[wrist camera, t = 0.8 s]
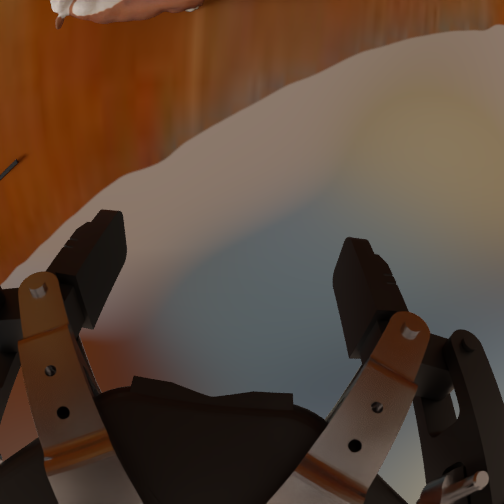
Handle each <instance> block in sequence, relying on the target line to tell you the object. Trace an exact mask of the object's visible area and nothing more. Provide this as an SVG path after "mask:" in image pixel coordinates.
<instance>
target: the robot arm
mask: <svg viewBox="0 0 504 504" xmlns="http://www.w3.org/2000/svg"><path fill="white" fill-rule="evenodd" d="M126 253H127V245H126V237H125V229H124V220H123V214H122V212H121V211H112V210H100V211H99V213H98V214H97V215H96V216H95V218H94V219H93V220H92V222H87V223H85V224H84V225H82V226H81V227H79V228H78V229H76V231H75V232H74V233H73V235H72V236H71V237H70V240H68V241H67V242H66V244H65V245H64V247H63V248H62V249H61V251H60V252H59V253H58V255H57V256H56V257H55V259H54V260H53V262H52V263H51V265H50V266H49V267H48V269H47V270H46V272H37V273H34V274H32V275H30V276H29V277H28V278H26V279H25V280H24V281H23V282H22V283H21V285H20V287H19V288H12V289H2V288H1V286H0V423H1V420H2V416H3V413H4V410H5V407H6V404H7V401H8V398H9V395H10V393H11V390H12V387H13V384H14V382H15V379H16V376H17V374H18V371H19V369H20V366H21V367H22V373H23V378H24V383H25V388H26V392H27V397H28V400H29V405H30V408H31V413H32V416H33V419H34V423H35V427H36V430H37V433H38V438H37V439H35V440H34V441H32V442H31V443H29V444H28V445H27V446H25V447H24V448H22V449H21V450H20V451H18V452H17V453H15V454H14V455H12V456H11V457H9V458H8V459H7V460H5V461H4V462H2V456H1V454H0V504H408V503H407V502H406V501H405V500H404V499H403V498H402V497H401V496H400V495H399V494H397V493H396V492H395V491H394V490H393V489H392V488H391V487H390V486H389V485H388V484H387V483H386V482H385V481H384V480H383V479H382V478H381V477H380V476H379V475H378V474H377V473H378V471H379V469H380V467H381V466H382V464H383V462H384V460H385V458H386V456H387V454H388V452H389V450H390V449H391V446H392V444H393V442H394V440H395V439H396V436H397V434H398V432H399V430H400V428H401V426H402V424H403V422H404V419H405V417H406V415H407V413H408V410H409V408H410V406H411V403H412V401H413V405H414V410H415V415H416V420H417V426H418V431H419V437H420V443H421V449H422V455H423V462H424V469H425V478H426V486H425V487H424V488H423V490H422V492H421V495H420V499H418V501H417V502H416V504H504V403H503V401H502V397H501V394H500V391H499V388H498V385H497V383H496V380H495V378H494V374H493V372H492V369H491V367H490V364H489V361H488V359H487V357H486V354H485V352H484V349H483V347H482V345H481V343H480V341H479V340H478V339H477V338H476V337H475V335H473V334H472V333H470V332H469V331H466V330H456V331H455V332H454V333H453V334H452V335H451V336H450V338H449V339H447V338H443V337H440V336H437V335H434V334H431V333H430V331H429V328H428V326H427V324H426V323H425V322H424V321H423V320H422V319H421V318H420V317H419V316H417V315H415V314H413V313H410V312H409V311H408V309H407V306H406V304H405V302H404V299H403V297H402V295H401V293H400V290H399V288H398V286H397V285H396V281H395V279H394V277H393V276H392V272H391V270H390V268H389V266H388V264H387V263H386V262H385V261H384V260H383V259H382V258H381V257H380V256H379V255H376V254H374V252H373V250H372V248H371V245H370V243H369V241H368V240H366V239H359V238H352V237H347V238H346V239H345V241H344V244H343V247H342V250H341V253H340V255H339V258H338V261H337V264H336V267H335V270H334V273H333V289H334V293H335V297H336V301H337V306H338V310H339V314H340V319H341V323H342V327H343V332H344V337H345V341H346V346H347V351H348V355H349V358H354V359H355V358H356V359H357V358H358V359H359V358H360V359H361V361H362V365H361V366H360V368H359V370H358V371H357V373H356V374H355V376H354V378H353V379H352V381H351V382H350V384H349V386H348V387H347V389H346V390H345V391H344V393H343V395H342V396H341V398H340V399H339V401H338V402H337V404H336V405H335V406H334V408H333V409H332V410H331V412H330V413H329V415H328V416H327V417H326V419H325V420H324V419H323V418H322V417H320V416H318V415H317V414H315V413H314V412H312V411H310V410H308V409H305V408H303V407H300V406H298V405H294V404H293V394H291V393H270V392H254V391H253V392H247V393H240V394H234V395H225V396H217V397H210V396H207V395H204V394H201V393H198V392H195V391H193V390H190V389H188V388H185V387H182V386H180V385H177V384H174V383H172V382H167V381H161V380H155V379H148V378H143V377H138V376H134V377H133V381H132V384H131V386H127V387H120V388H116V389H112V390H108V391H106V392H103V393H101V391H100V388H99V386H98V384H97V382H96V380H95V377H94V375H93V372H92V370H91V367H90V365H89V361H88V359H87V356H86V353H85V350H84V348H83V345H82V342H81V339H80V336H79V332H80V330H81V328H82V327H84V328H88V329H94V327H95V324H96V322H97V320H98V318H99V315H100V313H101V311H102V309H103V306H104V304H105V302H106V300H107V298H108V296H109V294H110V292H111V290H112V287H113V285H114V283H115V281H116V279H117V277H118V275H119V273H120V271H121V269H122V267H123V265H124V263H125V260H126V255H127V254H126ZM453 389H455V392H456V396H457V400H458V403H459V408H460V413H459V417H458V419H456V415H455V411H454V407H453V403H452V399H451V396H450V392H451V391H452V390H453Z"/></svg>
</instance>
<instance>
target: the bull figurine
mask: <svg viewBox="0 0 504 504" xmlns="http://www.w3.org/2000/svg"><path fill="white" fill-rule="evenodd" d="M203 1H204V0H51V1H50V3H51V7H52V10H53V11H54V12H56V13H59V15H58V17H57V19H56V28H57V29H60V28H61V26H62V24H63V21H64V18H65V16H67V15H71V16H73V17H76V18H78V19H83V20H90V21H93V22H95V23H101V24H107V23H111V22H120V21H132V20H145V19H149V18H152V17H155V16H157V15H159V14H160V13H162V12H164V11H167V12H171V13H178V12H182V11H185V10H186V11H187V12H191V11H193V10H194V9H198V7H199V6H202V5H203V3H202V2H203Z"/></svg>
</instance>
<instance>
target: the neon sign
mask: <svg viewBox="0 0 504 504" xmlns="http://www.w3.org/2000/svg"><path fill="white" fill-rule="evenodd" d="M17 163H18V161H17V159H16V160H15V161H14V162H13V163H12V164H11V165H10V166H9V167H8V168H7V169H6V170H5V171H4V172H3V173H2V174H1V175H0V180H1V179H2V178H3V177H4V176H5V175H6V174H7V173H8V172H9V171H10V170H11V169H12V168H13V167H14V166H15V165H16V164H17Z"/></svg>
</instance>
